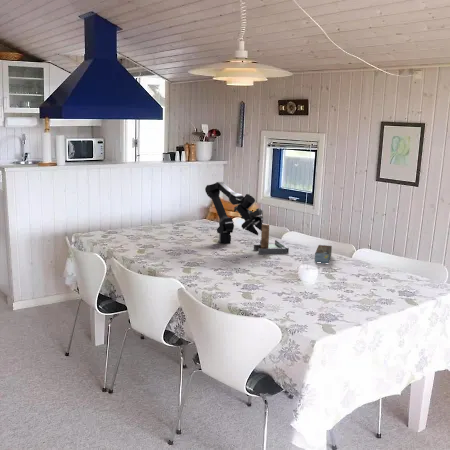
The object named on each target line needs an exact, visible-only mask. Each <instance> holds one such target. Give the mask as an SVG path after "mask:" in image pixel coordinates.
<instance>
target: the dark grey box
mask: <svg viewBox="0 0 450 450" xmlns="http://www.w3.org/2000/svg"><path fill="white" fill-rule="evenodd" d="M332 248H333V247H332V245H325V244H323V245H322V244H319V245H318V246H317V248H316V251H315V253H314V263H315V262H321V263H320V264H322V263H329V264H330V261H331V257H332V250H333V249H332ZM329 260H330V261H329Z"/></svg>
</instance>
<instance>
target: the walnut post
mask: <svg viewBox="0 0 450 450" xmlns="http://www.w3.org/2000/svg"><path fill="white" fill-rule="evenodd" d="M260 232H261V236H260V237H261V238H260V240H261V248H268V245H269V244H270V243H269V240H270V224H269V223H262V231H260Z"/></svg>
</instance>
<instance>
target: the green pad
mask: <svg viewBox="0 0 450 450" xmlns="http://www.w3.org/2000/svg"><path fill="white" fill-rule="evenodd" d="M268 248H279V247H277V246H276V245H275V243H269V245H268Z"/></svg>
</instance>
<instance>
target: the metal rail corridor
mask: <svg viewBox="0 0 450 450" xmlns="http://www.w3.org/2000/svg"><path fill="white" fill-rule="evenodd" d="M274 244H275V245H276V246H277V247H279V248H261V239H260V240H259V243H258V244H253V250H254V251H258V252H257V254H259V255H271V254H273V255H275V254H289V253H290V252H289V250H290V249H289V247H288V246H287V245H285V244H284V243H282V242H281V241H279V240H278V239H275V240H274Z"/></svg>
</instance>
